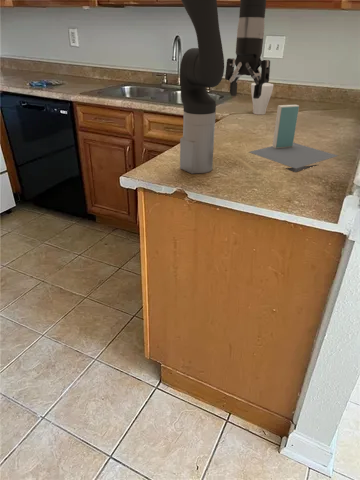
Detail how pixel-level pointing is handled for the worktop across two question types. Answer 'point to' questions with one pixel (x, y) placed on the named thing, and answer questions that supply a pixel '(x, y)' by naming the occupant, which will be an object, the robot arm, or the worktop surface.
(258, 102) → the cup
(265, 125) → the worktop surface
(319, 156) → the mat
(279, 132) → the tile
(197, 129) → the robot arm
